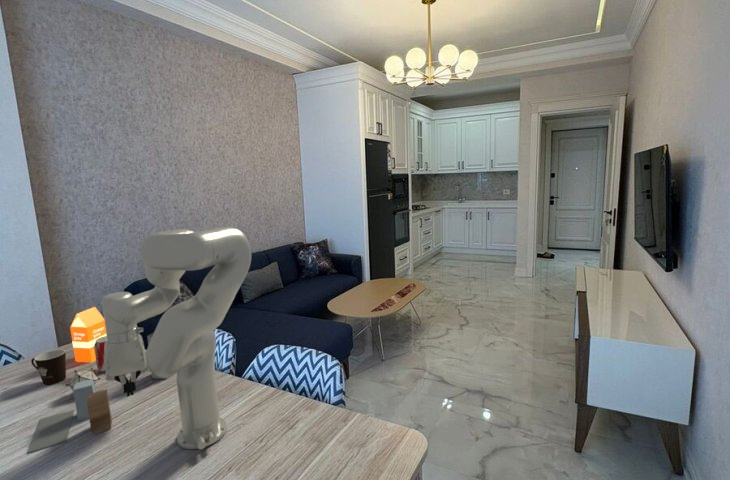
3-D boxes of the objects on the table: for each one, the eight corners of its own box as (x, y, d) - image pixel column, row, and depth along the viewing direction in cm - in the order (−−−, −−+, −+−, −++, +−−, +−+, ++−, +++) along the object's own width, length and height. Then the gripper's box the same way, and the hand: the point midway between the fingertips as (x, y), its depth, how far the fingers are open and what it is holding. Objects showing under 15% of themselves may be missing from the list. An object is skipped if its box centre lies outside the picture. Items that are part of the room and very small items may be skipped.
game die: (87, 405, 127) (77, 392, 120) (67, 394, 128) (55, 382, 121) (109, 381, 133) (100, 368, 126) (89, 372, 134) (79, 358, 127)
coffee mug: (73, 378, 138) (69, 352, 136) (44, 389, 130) (39, 362, 129) (60, 370, 144) (56, 345, 142) (32, 381, 137) (27, 355, 135)
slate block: (96, 415, 114) (91, 385, 113) (78, 421, 112) (73, 389, 110) (97, 408, 118) (93, 378, 117) (80, 413, 116) (75, 383, 114)
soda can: (111, 373, 141) (107, 342, 139) (93, 373, 141) (88, 343, 139) (124, 363, 148) (119, 334, 146) (106, 364, 148) (101, 335, 146)
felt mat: (66, 441, 103) (66, 440, 103) (27, 453, 99) (27, 452, 99) (74, 410, 117) (73, 409, 117) (40, 419, 113) (40, 419, 113)
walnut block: (111, 428, 108) (106, 396, 106) (91, 434, 106) (86, 401, 104) (111, 420, 112) (107, 389, 110) (93, 426, 109) (88, 394, 108)
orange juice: (75, 361, 151) (67, 313, 148) (94, 351, 159) (87, 306, 156) (92, 362, 150) (84, 314, 146) (110, 352, 158) (103, 306, 155)
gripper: (151, 325, 116) (158, 380, 119) (92, 336, 108) (100, 395, 111) (152, 333, 109) (159, 391, 112) (89, 346, 102) (98, 408, 105)
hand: (130, 393), depth 112 cm, fingers closed
